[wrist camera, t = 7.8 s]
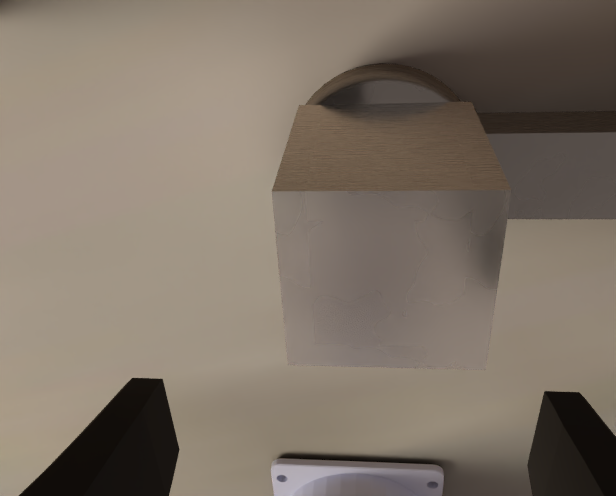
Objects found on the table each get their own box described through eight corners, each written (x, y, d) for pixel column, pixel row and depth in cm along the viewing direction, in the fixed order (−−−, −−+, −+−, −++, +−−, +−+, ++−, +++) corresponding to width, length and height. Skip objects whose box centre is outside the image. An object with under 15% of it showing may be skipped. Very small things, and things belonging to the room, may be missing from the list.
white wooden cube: (457, 249, 19) (485, 369, 14) (307, 248, 19) (287, 364, 15) (471, 101, 16) (511, 189, 12) (299, 105, 17) (271, 191, 12)
